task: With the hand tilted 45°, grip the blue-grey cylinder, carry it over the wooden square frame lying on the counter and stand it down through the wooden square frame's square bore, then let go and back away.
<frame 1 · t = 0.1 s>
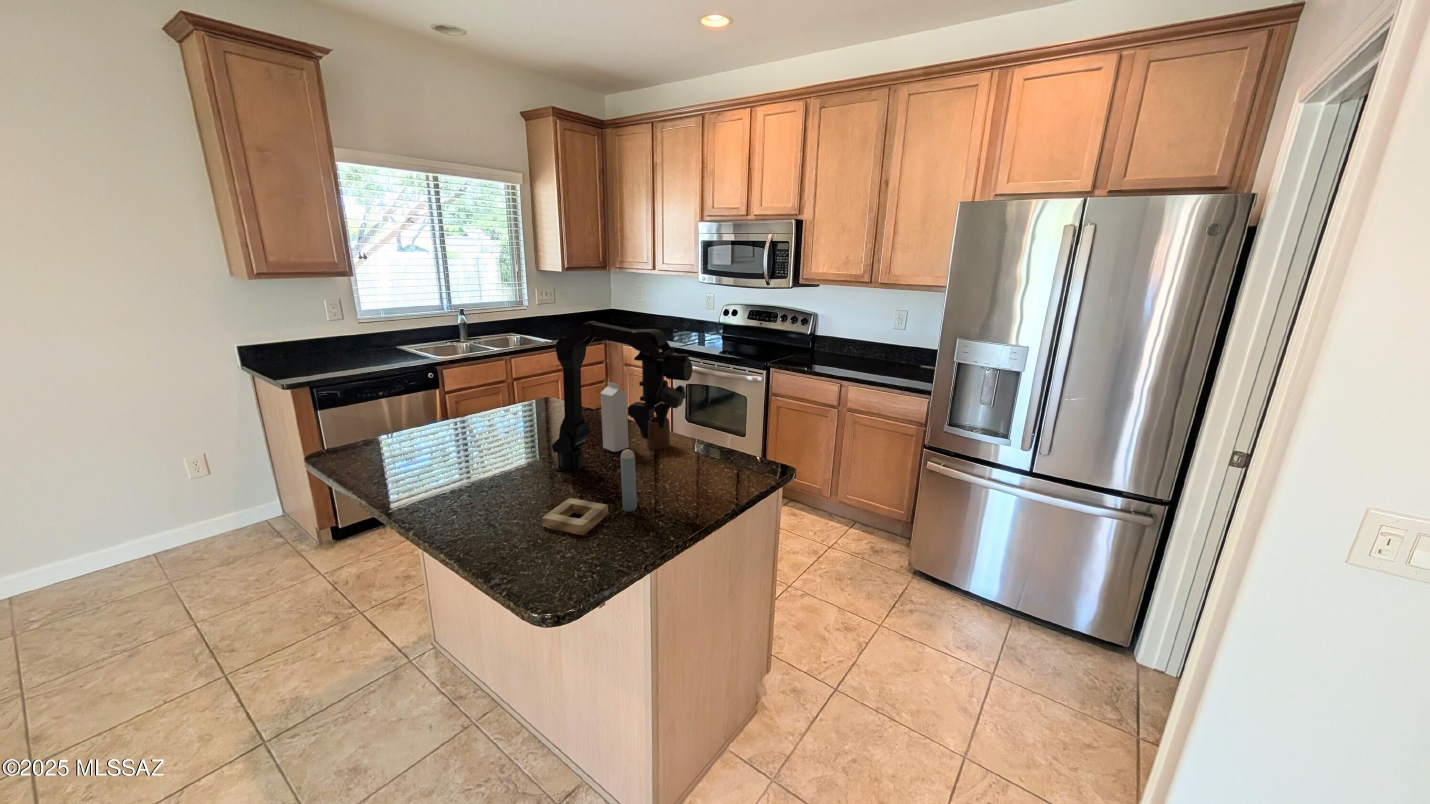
hand: (654, 432, 145), 15 cm above the counter, tool pointing down, fingers open, 9 cm apart
mug: (654, 448, 175), on the counter
milk: (616, 448, 175), on the counter
wooden square frame: (576, 520, 127), on the counter
blue-grey cylinder: (629, 508, 134), on the counter
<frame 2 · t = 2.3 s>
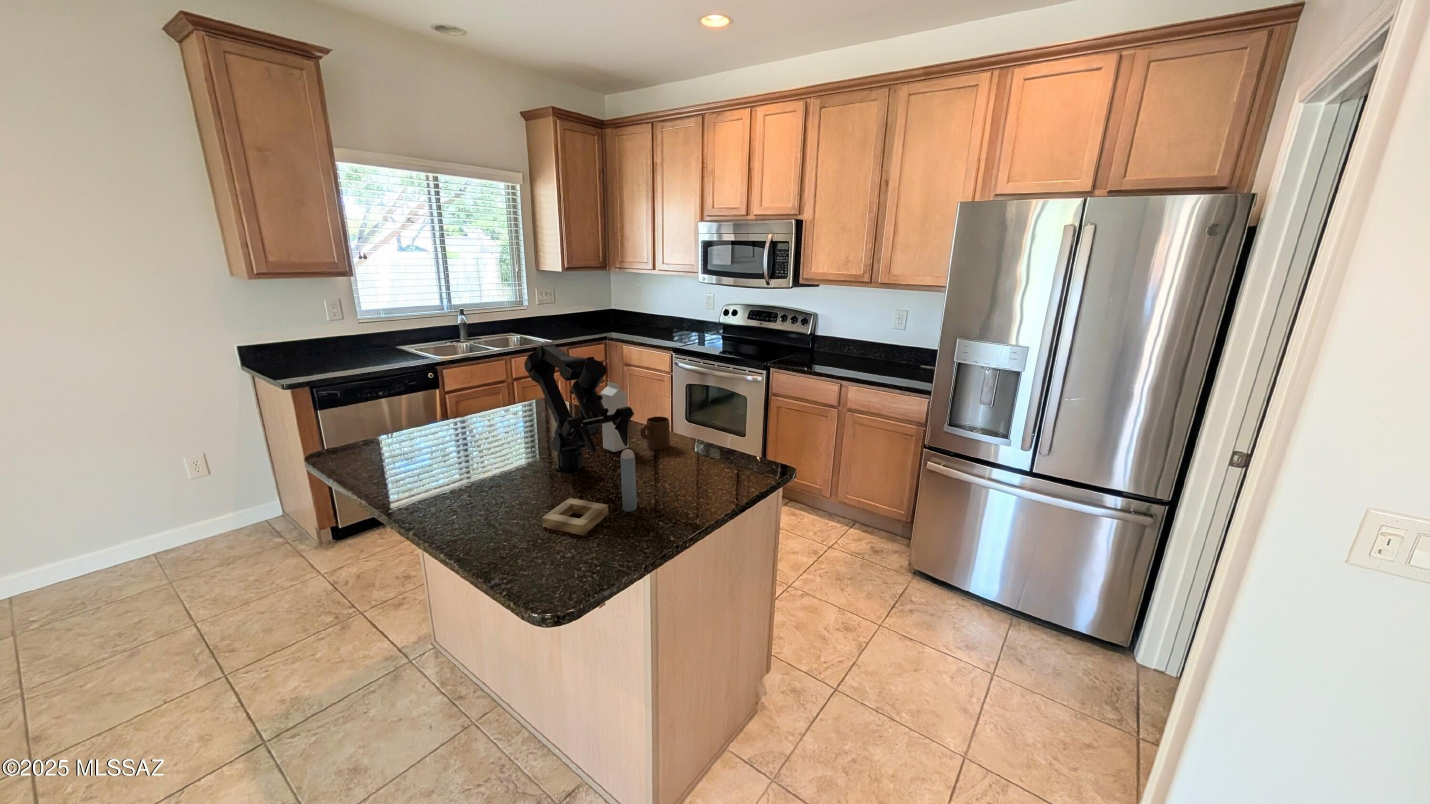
hand: (611, 449, 136), 13 cm above the counter, tool tilted 45°, fingers open, 9 cm apart
nothing on the counter moved.
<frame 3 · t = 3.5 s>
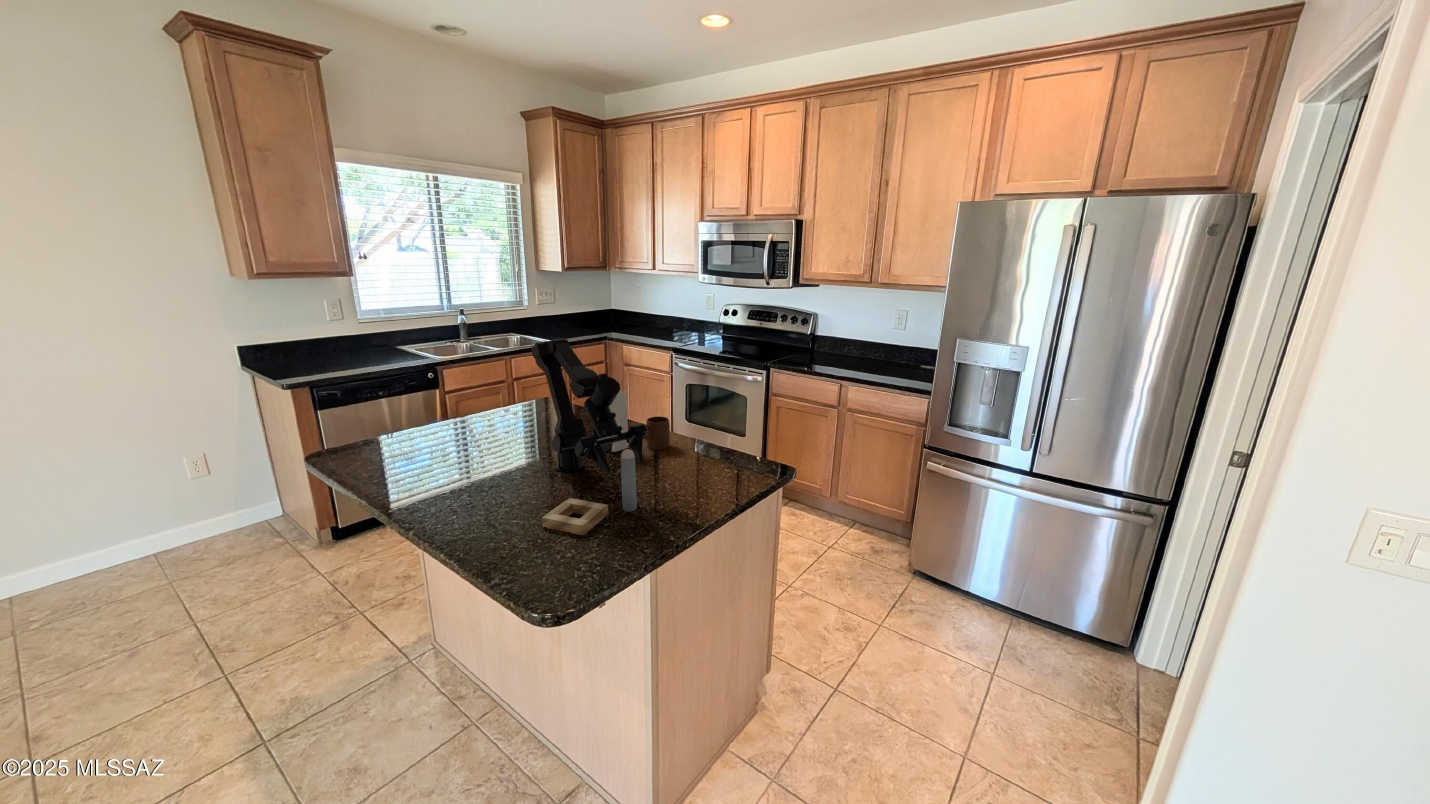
hand: (625, 468, 132), 10 cm above the counter, tool tilted 45°, fingers open, 9 cm apart
nothing on the counter moved.
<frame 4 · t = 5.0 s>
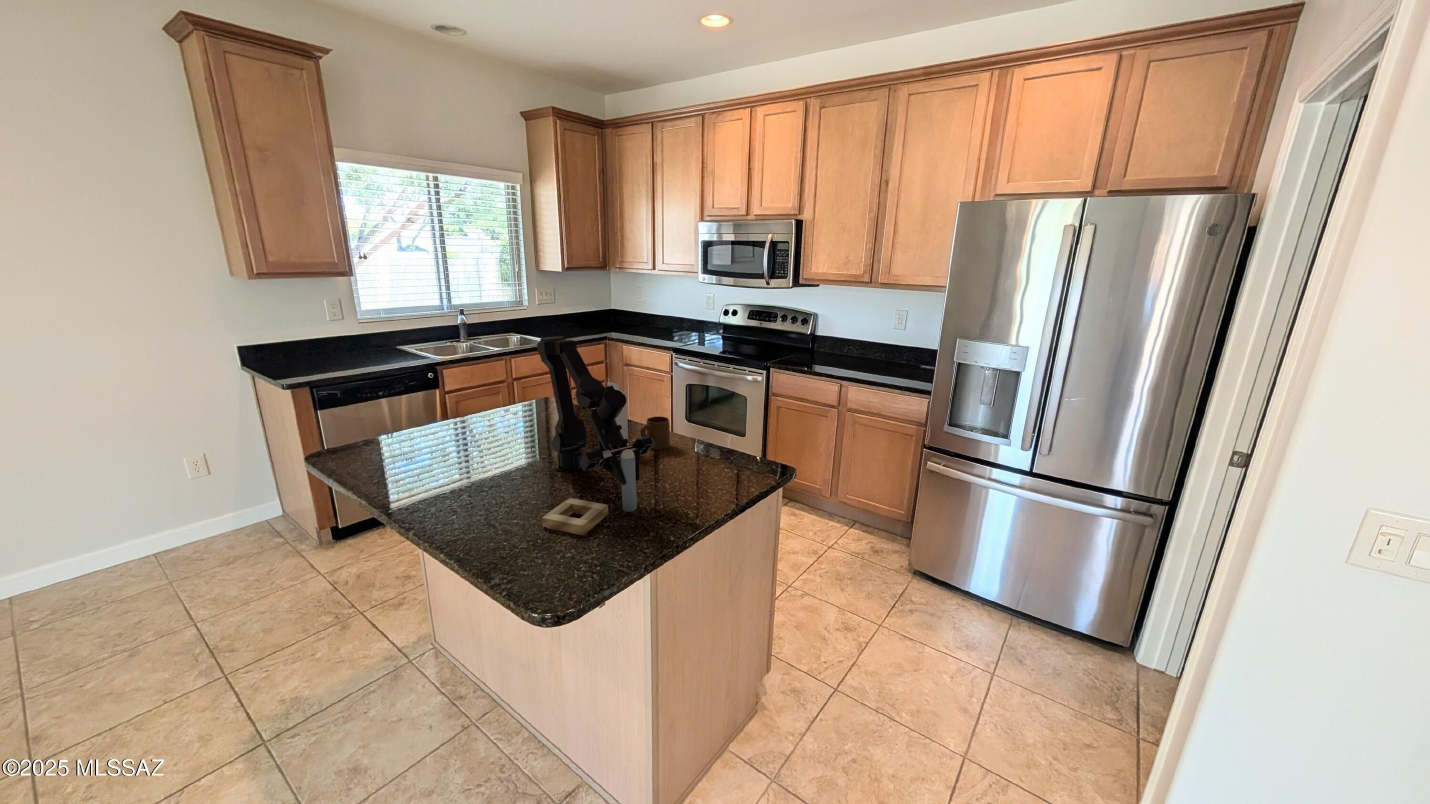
hand: (631, 482, 131), 8 cm above the counter, tool tilted 45°, fingers closed on blue-grey cylinder, 3 cm apart
blue-grey cylinder: (629, 508, 134), on the counter, touching gripper
everything else where it was.
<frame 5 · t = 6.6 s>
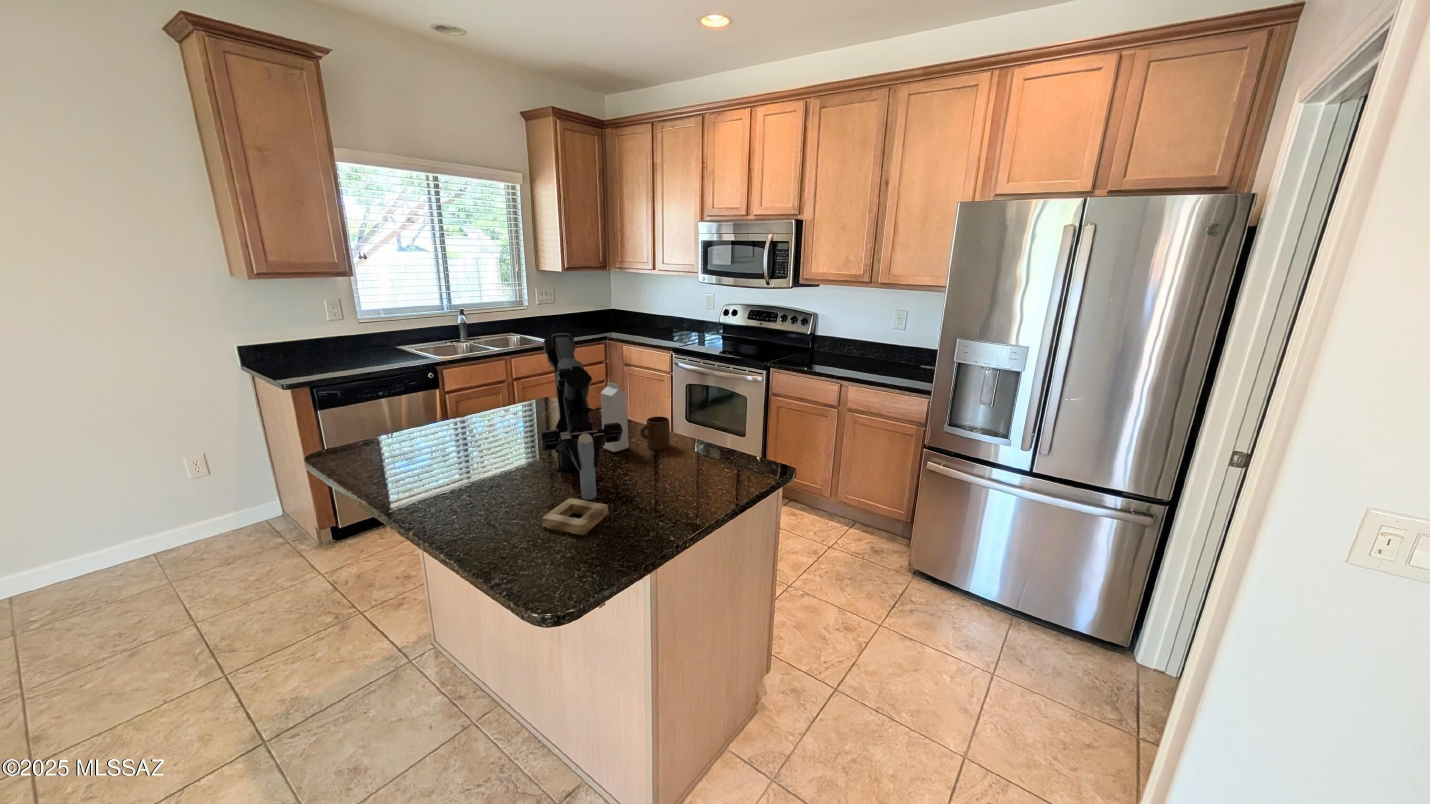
hand: (587, 468, 124), 13 cm above the counter, tool tilted 45°, fingers closed on blue-grey cylinder, 3 cm apart
blue-grey cylinder: (588, 496, 127), point 6 cm above the counter, touching gripper
everything else where it was.
when the fingers open (8 cm above the counter, at t = 8.3 s): blue-grey cylinder stays where it is, resting in wooden square frame.
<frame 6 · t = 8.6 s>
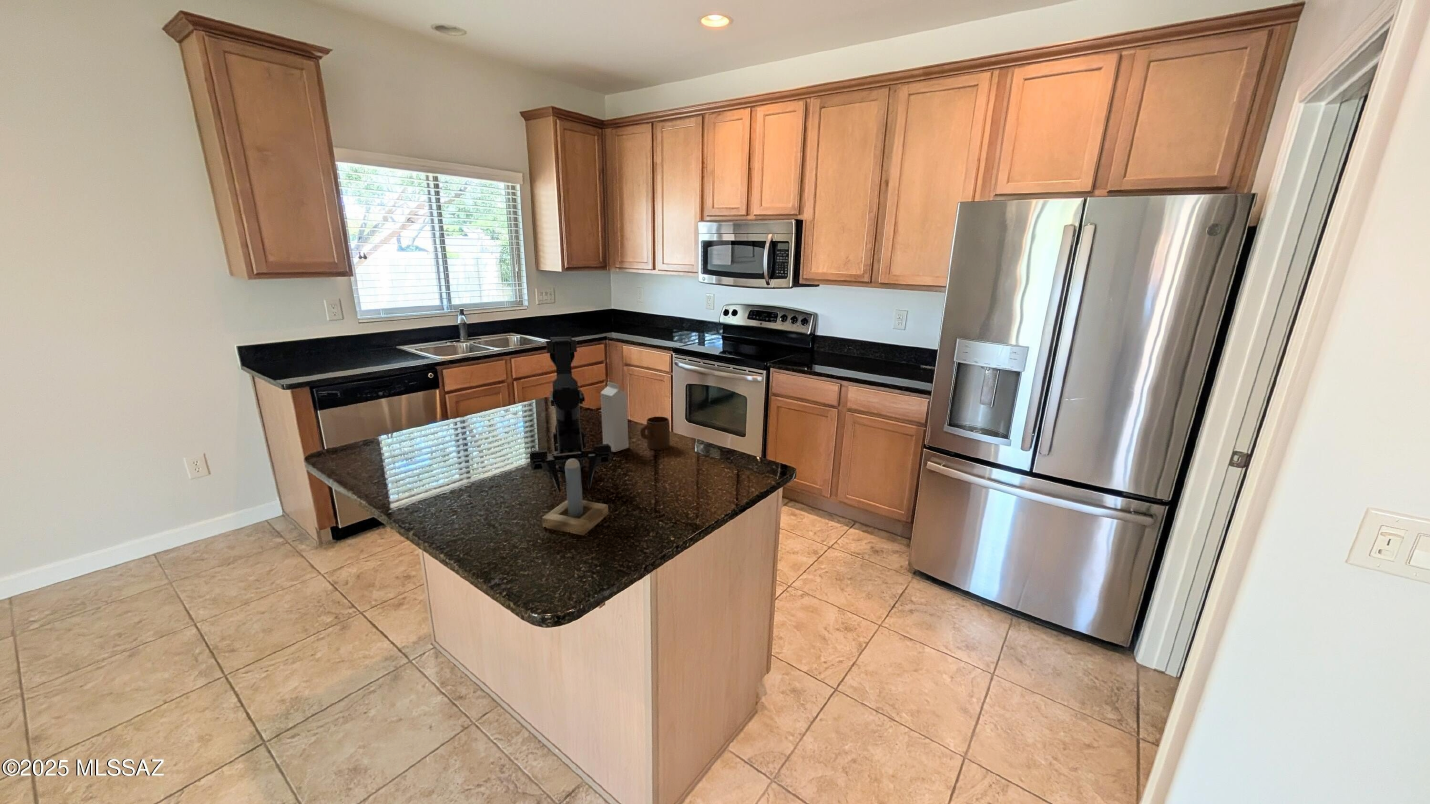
hand: (574, 490, 124), 9 cm above the counter, tool tilted 45°, fingers open, 6 cm apart
blue-grey cylinder: (576, 520, 127), resting in wooden square frame
everything else where it was.
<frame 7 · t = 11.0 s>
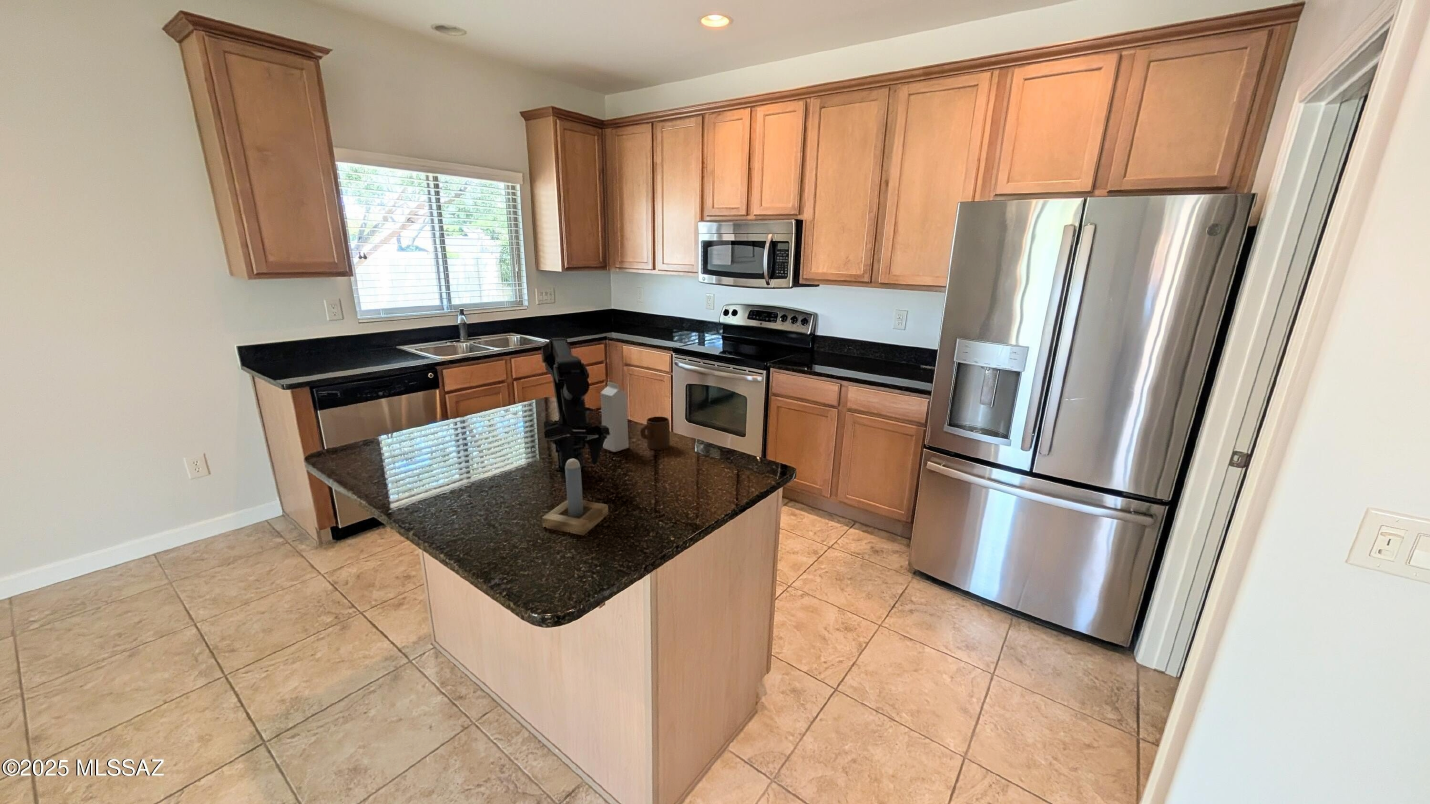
hand: (583, 465, 136), 10 cm above the counter, tool tilted 25°, fingers open, 9 cm apart
nothing on the counter moved.
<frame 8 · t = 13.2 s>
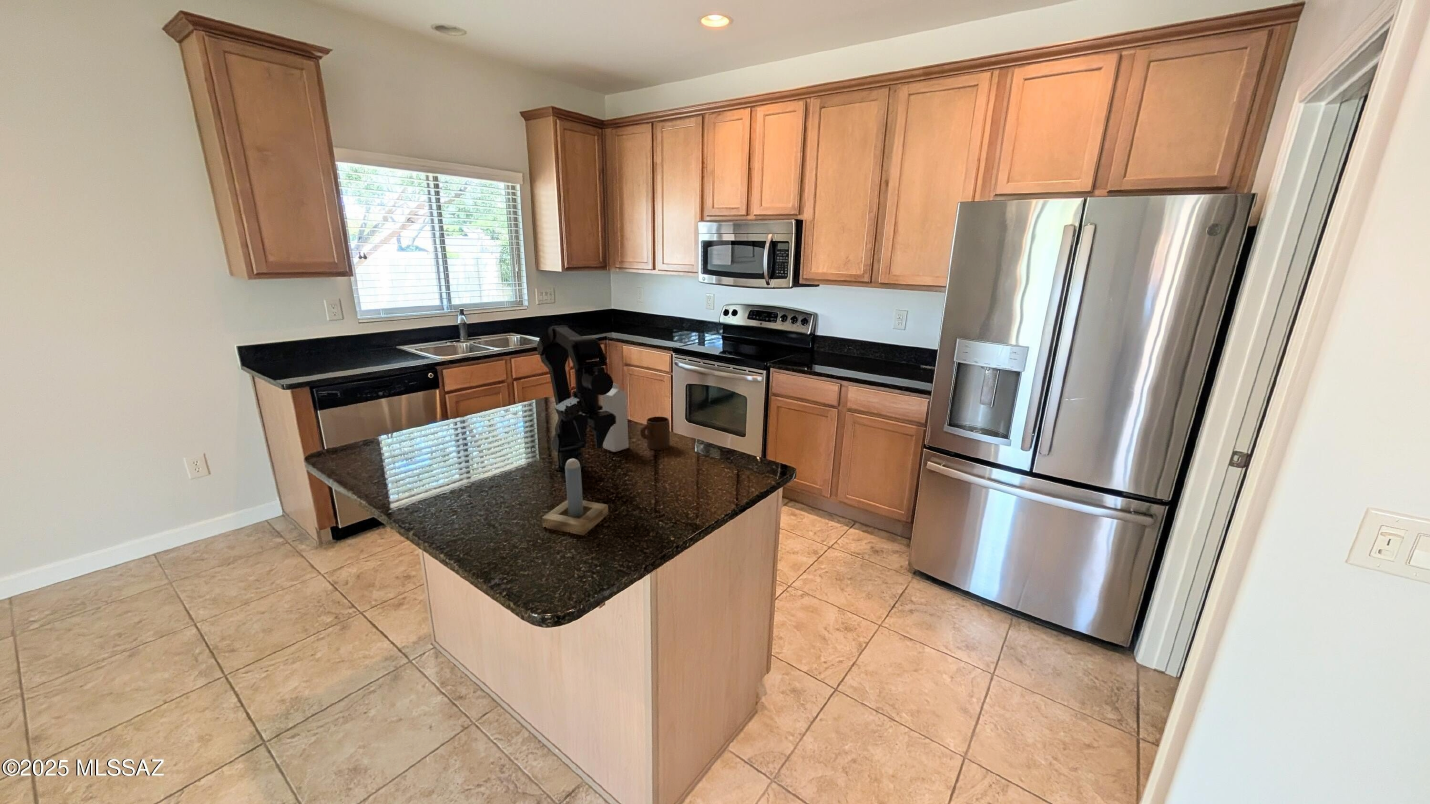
hand: (590, 443, 141), 13 cm above the counter, tool pointing down, fingers open, 9 cm apart
nothing on the counter moved.
at the end: blue-grey cylinder 0.0 cm off-centre on the wooden square frame, point 0.0 cm above the wooden square frame's base; blue-grey cylinder tilted 0°; the gripper is holding nothing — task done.
